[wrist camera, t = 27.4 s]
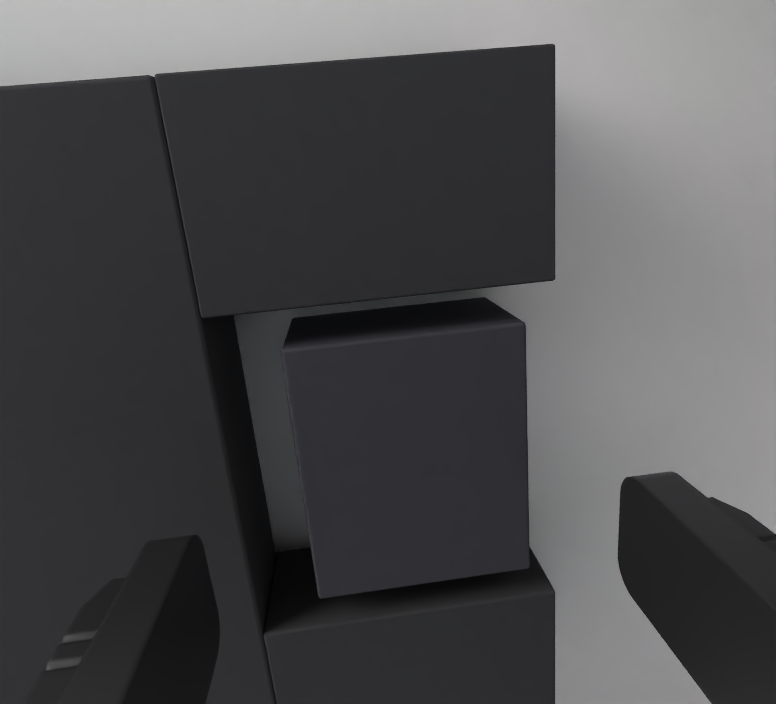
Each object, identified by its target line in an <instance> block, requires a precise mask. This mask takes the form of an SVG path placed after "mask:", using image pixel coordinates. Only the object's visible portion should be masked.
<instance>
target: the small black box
mask: <svg viewBox="0 0 776 704" xmlns="http://www.w3.org/2000/svg"><path fill="white" fill-rule="evenodd" d="M281 356H282V363H283V369H284V376H285V382H286V389H287V395H288V402H289V408H290V415H291V421H292V428H293V434H294V441H295V447H296V454H297V460H298V467H299V474H300V480H301V487H302V493H303V500H304V506H305V513H306V519H307V526H308V532H309V539H310V545H311V552H312V558H313V565H314V571H315V578H316V584H317V591H318V596H319V598H321V599H323V598H329V597H336V596H343V595H350V594H357V593H364V592H370V591H377V590H384V589H391V588H398V587H405V586H412V585H418V584H425V583H432V582H439V581H446V580H453V579H459V578H466V577H473V576H480V575H487V574H494V573H500V572H507V571H514V570H521V569H527V568H529V566H530V561H529V500H528V439H527V378H526V325H525V323H524V322H522V321H521V320H519V319H518V318H516V317H515V316H513V315H512V314H510V313H509V312H507V311H505V310H504V309H502V308H501V307H499V306H498V305H496V304H495V303H493V302H492V301H490V300H488V299H487V298H484V297H483V298H474V299H465V300H456V301H447V302H437V303H428V304H419V305H410V306H401V307H392V308H382V309H373V310H364V311H355V312H346V313H336V314H327V315H318V316H309V317H300V318H293V319H292V321H291V324H290V327H289V330H288V333H287V336H286V339H285V342H284V345H283V348H282V351H281Z"/></svg>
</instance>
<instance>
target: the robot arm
mask: <svg viewBox="0 0 776 704" xmlns="http://www.w3.org/2000/svg"><path fill="white" fill-rule="evenodd" d="M618 563H619V568H620V572H621V576H622V579H623V581H624V584H625V586H626V588H627V590H628V592H629V594H630V595H631V597H632V598H633V599H634V601H635V602H636V603H637V605H638V606H639V607H640V609H641V610H642V611H643V613H644V614H645V615H646V617H647V618H648V619H649V621H650V622H651V623H652V625H653V626H654V627H655V629H656V630H657V631H658V633H659V634H660V635H661V637H662V638H663V639H664V641H665V642H666V643H667V645H668V646H669V647H670V649H671V650H672V651H673V653H674V654H675V655H676V657H677V658H678V659H679V661H680V662H681V663H682V665H683V666H684V667H685V669H686V670H687V671H688V673H689V674H690V675H691V677H692V678H693V679H694V681H695V682H696V683H697V685H698V686H699V687H700V689H701V690H702V691H703V693H704V694H705V695H706V697H707V698H708V699H709V701H710V702H711V703H712V704H776V534H774V533H773V532H772V531H770V530H769V529H768V528H766V527H765V526H764V525H762V524H761V523H760V522H759V521H757V520H756V519H755V518H753V517H752V516H751V515H749V514H748V513H746V512H744V511H742V510H739V509H737V508H735V507H733V506H731V505H728V504H726V503H724V502H722V501H720V500H717V499H715V498H713V497H710V498H707V497H706V496H705V495H703V494H702V493H701V492H700V491H698V490H697V489H696V488H695V487H693V486H692V485H691V484H690V483H688V482H687V481H686V480H685V479H683V478H682V477H681V476H680V475H678V474H677V473H674V472H662V473H655V474H648V475H640V476H633V477H627V478H625V479H624V481H623V482H622V485H621V491H620V513H619V539H618ZM219 641H220V623H219V614H218V609H217V604H216V600H215V595H214V591H213V586H212V582H211V577H210V573H209V568H208V564H207V559H206V555H205V550H204V546H203V543H202V540H201V538H200V537H199V536H198V535H188V536H181V537H173V538H166V539H158V540H151V541H148V542H146V543H145V545H144V546H143V548H142V549H141V551H140V553H139V555H138V557H137V559H136V560H135V562H134V564H133V566H132V568H131V570H130V571H129V573H128V575H127V577H126V578H119V579H112V580H110V581H109V582H108V583H107V584H106V585H105V586H104V587H103V588H102V589H101V590H99V591H98V592H97V593H96V594H95V595H94V596H93V597H92V598H91V599H90V600H89V601H87V602H86V603H85V604H84V605H83V606H82V607H81V609H80V610H79V612H78V614H77V615H76V617H75V619H74V620H73V622H72V623H71V625H70V627H69V628H68V630H67V631H66V633H65V635H64V636H63V643H60V644H58V646H57V648H56V649H55V651H54V653H53V654H52V656H51V657H50V659H49V661H48V662H47V668H46V671H42V672H41V674H40V675H39V677H38V678H37V680H36V682H35V683H34V685H33V687H32V688H31V690H30V691H29V693H28V695H27V696H26V698H25V700H24V701H23V703H22V704H206V700H207V696H208V692H209V688H210V684H211V681H212V677H213V673H214V669H215V665H216V661H217V656H218V651H219Z"/></svg>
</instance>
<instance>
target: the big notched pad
mask: <svg viewBox="0 0 776 704" xmlns="http://www.w3.org/2000/svg"><path fill="white" fill-rule="evenodd" d="M553 280H555V45H554V44H545V45H532V46H519V47H506V48H492V49H479V50H466V51H453V52H440V53H427V54H413V55H400V56H387V57H374V58H361V59H348V60H334V61H321V62H308V63H295V64H282V65H269V66H255V67H242V68H229V69H216V70H203V71H189V72H176V73H163V74H156V75H155V77H153V76H150V75H146V76H132V77H119V78H106V79H93V80H80V81H67V82H54V83H40V84H27V85H14V86H1V87H0V704H22V703H23V701H24V700H25V698H26V696H27V695H28V693H29V691H30V690H31V688H32V687H33V685H34V683H35V682H36V680H37V678H38V677H39V675H40V674H41V672H42V671H46V668H47V662H48V661H49V659H50V657H51V656H52V654H53V653H54V651H55V649H56V648H57V646H58V644H60V643H63V636H64V635H65V633H66V631H67V630H68V628H69V627H70V625H71V623H72V622H73V620H74V619H75V617H76V615H77V614H78V612H79V610H80V609H81V607H82V606H83V605H84V604H85V603H86V602H87V601H89V600H90V599H91V598H92V597H93V596H94V595H95V594H96V593H97V592H98V591H99V590H101V589H102V588H103V587H104V586H105V585H106V584H107V583H108V582H109V581H110V580H112V579H119V578H126V577H127V575H128V573H129V571H130V570H131V568H132V566H133V564H134V562H135V560H136V559H137V557H138V555H139V553H140V551H141V549H142V548H143V546H144V545H145V543H146V542H148V541H151V540H158V539H166V538H173V537H181V536H188V535H198V536H199V537H200V538H201V540H202V543H203V546H204V550H205V555H206V559H207V564H208V568H209V573H210V577H211V582H212V586H213V591H214V595H215V600H216V604H217V609H218V614H219V623H220V641H219V651H218V656H217V661H216V665H215V669H214V673H213V677H212V681H211V684H210V688H209V692H208V696H207V700H206V704H555V591H554V589H553V587H552V585H551V584H550V582H549V580H548V578H547V576H546V575H545V573H544V571H543V569H542V568H541V566H540V564H539V562H538V561H537V559H536V557H535V555H534V553H533V552H532V550H531V548H530V546H529V561H530V566H529V568H527V569H521V570H514V571H507V572H500V573H494V574H487V575H480V576H473V577H466V578H459V579H453V580H446V581H439V582H432V583H425V584H418V585H412V586H405V587H398V588H391V589H384V590H377V591H370V592H364V593H357V594H350V595H343V596H336V597H329V598H323V599H321V598H319V596H318V591H317V584H316V578H315V571H314V565H313V558H312V552H311V549H306V550H299V551H292V552H284V553H278V554H277V555H275V550H274V544H273V538H272V533H271V527H270V521H269V516H268V510H267V504H266V499H265V493H264V487H263V482H262V476H261V471H260V465H259V459H258V454H257V448H256V442H255V437H254V431H253V425H252V420H251V414H250V408H249V403H248V397H247V391H246V386H245V380H244V374H243V369H242V363H241V357H240V352H239V346H238V340H237V335H236V329H235V323H234V318H233V315H238V314H248V313H257V312H266V311H276V310H285V309H294V308H303V307H313V306H322V305H331V304H341V303H350V302H359V301H368V300H378V299H387V298H396V297H406V296H415V295H424V294H433V293H443V292H452V291H461V290H471V289H480V288H489V287H498V286H508V285H517V284H526V283H536V282H545V281H553Z"/></svg>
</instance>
